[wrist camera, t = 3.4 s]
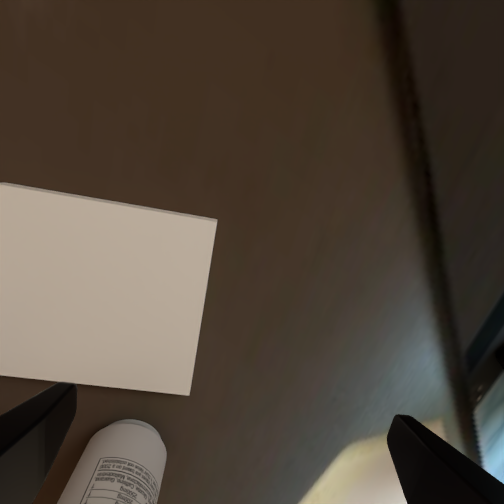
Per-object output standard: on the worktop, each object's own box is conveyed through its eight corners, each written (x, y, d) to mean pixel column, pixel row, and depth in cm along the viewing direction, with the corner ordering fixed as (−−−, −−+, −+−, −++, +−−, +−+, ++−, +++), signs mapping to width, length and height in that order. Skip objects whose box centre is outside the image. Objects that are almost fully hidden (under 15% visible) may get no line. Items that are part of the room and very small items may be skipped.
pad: (217, 219, 20) (216, 222, 19) (190, 386, 23) (189, 395, 22) (4, 182, 19) (-8, 183, 18) (8, 365, 22) (-2, 375, 21)
